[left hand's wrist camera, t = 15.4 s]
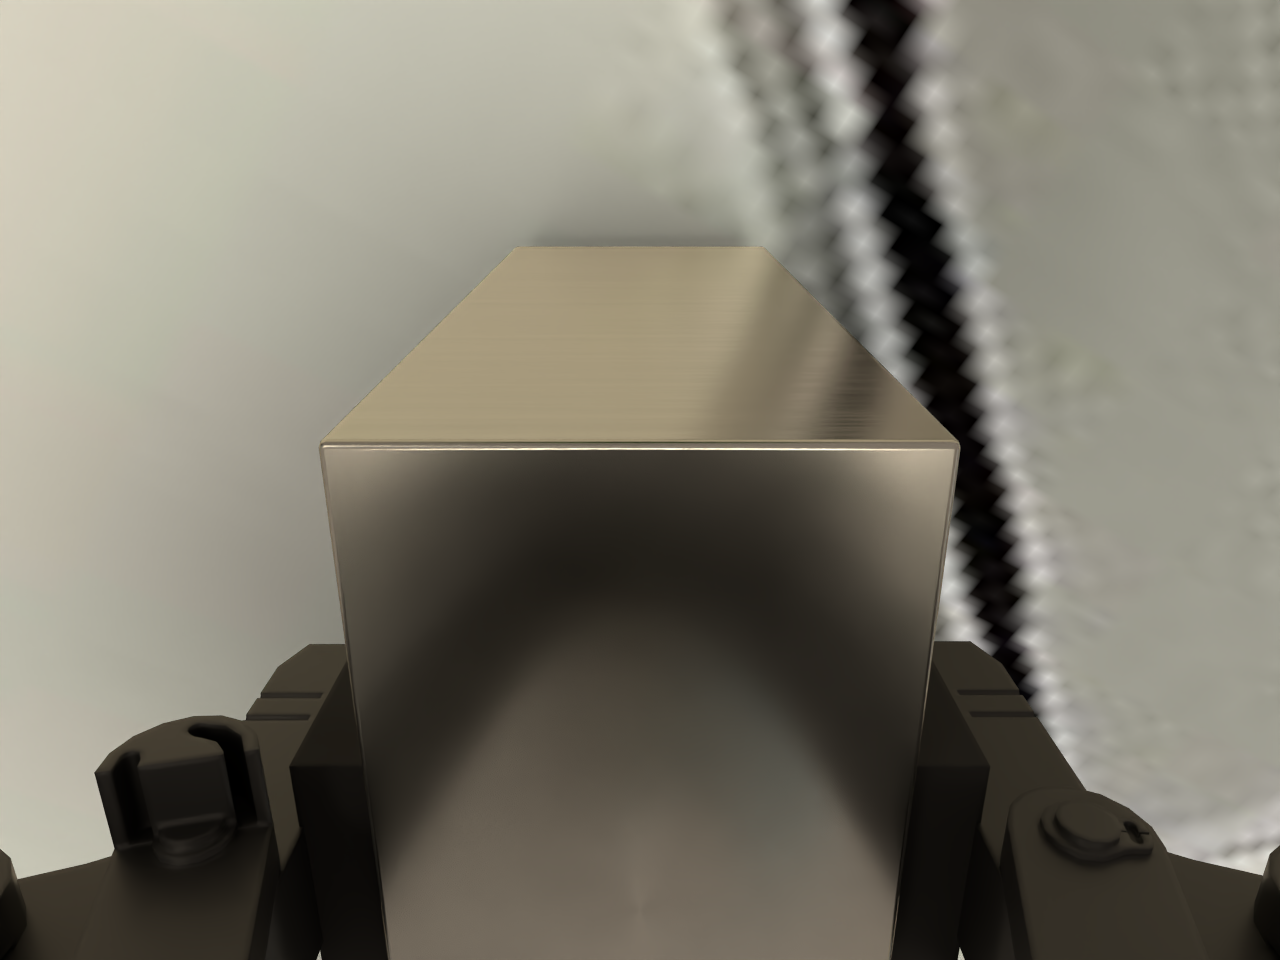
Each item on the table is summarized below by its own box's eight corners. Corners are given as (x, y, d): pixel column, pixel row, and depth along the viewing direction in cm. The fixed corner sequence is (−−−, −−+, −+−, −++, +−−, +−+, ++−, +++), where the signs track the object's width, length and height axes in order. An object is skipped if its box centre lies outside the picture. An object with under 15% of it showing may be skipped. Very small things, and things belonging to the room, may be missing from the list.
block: (764, 246, 17) (964, 442, 7) (745, 654, 20) (858, 1223, 10) (514, 246, 17) (315, 441, 7) (534, 654, 20) (421, 1223, 10)
